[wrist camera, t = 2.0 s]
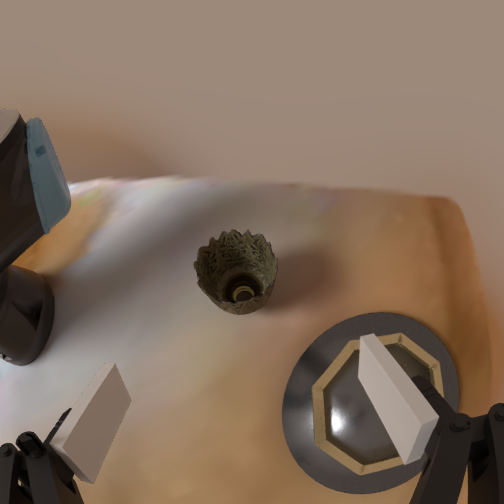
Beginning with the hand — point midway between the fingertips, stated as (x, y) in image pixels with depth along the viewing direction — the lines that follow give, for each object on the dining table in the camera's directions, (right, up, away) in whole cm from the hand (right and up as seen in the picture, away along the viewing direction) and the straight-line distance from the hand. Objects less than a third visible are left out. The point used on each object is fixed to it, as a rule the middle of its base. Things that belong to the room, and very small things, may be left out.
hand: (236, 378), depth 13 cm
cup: (0, +1, +18) cm, 18 cm away
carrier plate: (+14, -9, +10) cm, 19 cm away
